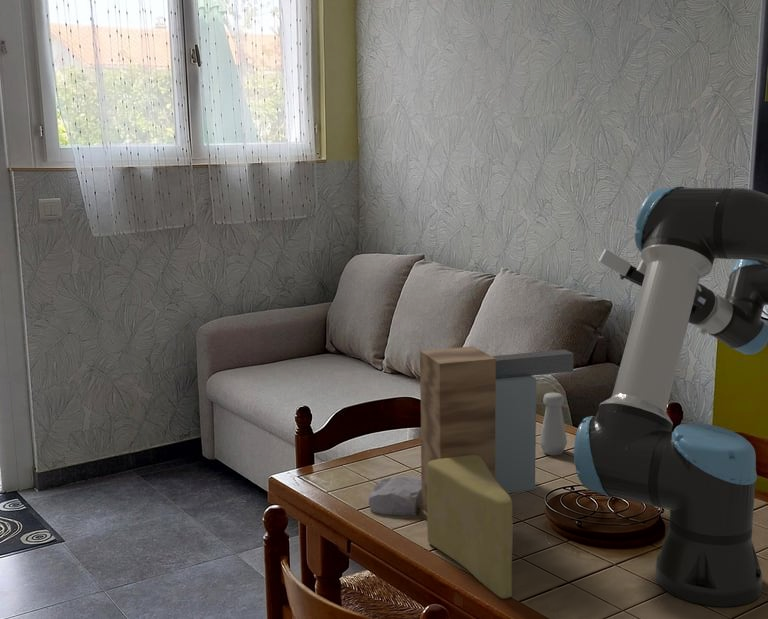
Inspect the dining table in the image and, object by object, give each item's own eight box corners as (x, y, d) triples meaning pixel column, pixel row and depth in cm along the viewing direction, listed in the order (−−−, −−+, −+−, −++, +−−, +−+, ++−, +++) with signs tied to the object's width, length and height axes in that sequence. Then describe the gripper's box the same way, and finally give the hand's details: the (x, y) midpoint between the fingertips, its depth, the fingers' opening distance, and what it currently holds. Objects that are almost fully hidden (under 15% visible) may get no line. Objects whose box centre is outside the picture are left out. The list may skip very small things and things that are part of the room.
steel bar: (573, 371, 175) (573, 353, 174) (456, 383, 168) (456, 364, 167) (564, 367, 178) (564, 349, 177) (449, 378, 171) (449, 360, 171)
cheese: (538, 594, 134) (539, 499, 131) (477, 605, 131) (477, 507, 129) (479, 534, 155) (479, 450, 152) (425, 542, 152) (425, 457, 149)
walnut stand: (498, 527, 157) (499, 359, 152) (439, 536, 154) (437, 364, 149) (474, 503, 168) (474, 345, 162) (418, 511, 165) (416, 350, 159)
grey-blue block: (535, 489, 174) (536, 378, 170) (467, 499, 170) (466, 385, 166) (517, 475, 182) (518, 368, 178) (451, 484, 178) (451, 375, 174)
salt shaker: (570, 450, 195) (572, 392, 193) (560, 458, 191) (561, 399, 188) (545, 446, 199) (546, 388, 196) (534, 454, 194) (535, 395, 191)
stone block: (367, 523, 165) (420, 517, 162) (361, 497, 165) (414, 491, 162) (383, 500, 177) (432, 494, 174) (378, 476, 176) (427, 470, 173)
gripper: (734, 337, 166) (648, 286, 159) (656, 313, 190) (579, 268, 183) (753, 301, 166) (668, 248, 159) (673, 282, 190) (596, 235, 183)
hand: (620, 259), depth 171 cm, fingers open, 13 cm apart
